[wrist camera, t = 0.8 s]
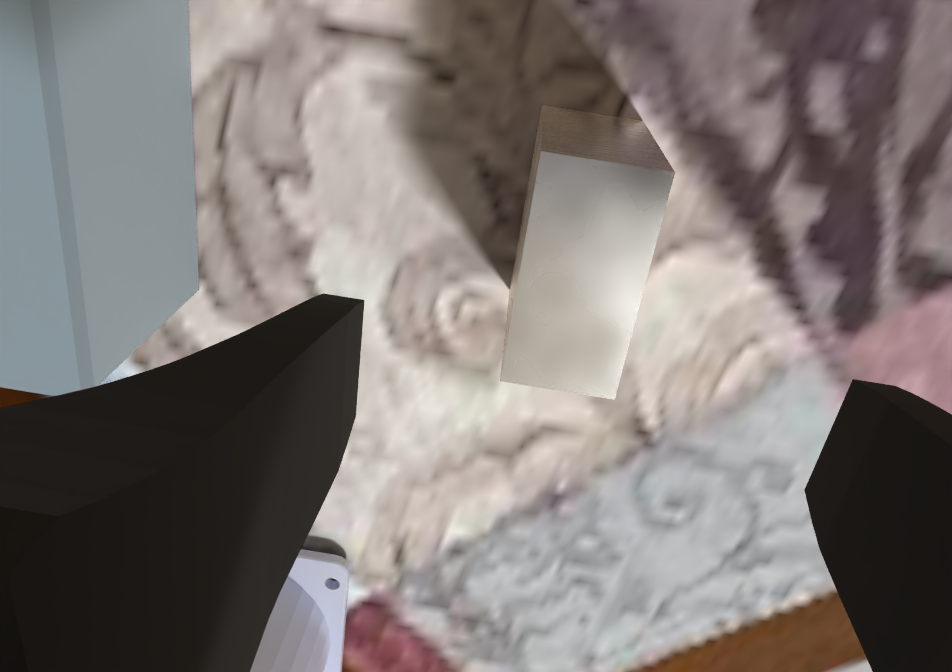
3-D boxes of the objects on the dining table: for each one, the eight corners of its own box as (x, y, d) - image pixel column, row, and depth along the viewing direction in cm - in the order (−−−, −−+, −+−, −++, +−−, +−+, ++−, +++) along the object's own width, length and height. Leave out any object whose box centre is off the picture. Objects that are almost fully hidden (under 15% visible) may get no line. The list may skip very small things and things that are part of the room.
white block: (599, 304, 20) (614, 399, 16) (509, 289, 20) (500, 380, 16) (643, 120, 18) (675, 172, 14) (542, 104, 18) (541, 151, 14)
